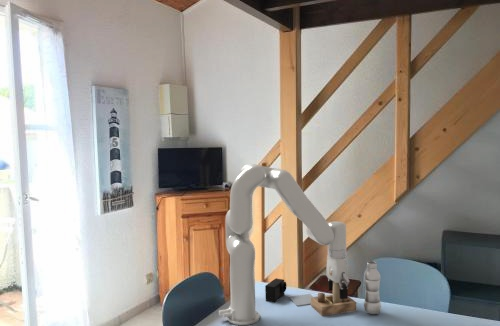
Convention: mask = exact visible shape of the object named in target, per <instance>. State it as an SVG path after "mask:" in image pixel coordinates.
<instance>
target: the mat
mask: <svg viewBox="0 0 500 326" xmlns="http://www.w3.org/2000/svg"><path fill="white" fill-rule="evenodd" d="M311 297H314V295H312V294H311V293H306V294H305V293H304V294H299V295H292V296H291V295H290V296H288V298H289V300H290V301H292V303H294V305H296V306H297V307H301V306H309V305H310V306H311Z"/></svg>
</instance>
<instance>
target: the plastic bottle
mask: <svg viewBox="0 0 500 326" xmlns="http://www.w3.org/2000/svg"><path fill="white" fill-rule="evenodd" d="M366 263H367V265H366V270H365V271H364V274H363V280H364V289H365V290H364V291H365V293H364V303H363V309H364V311H365V313H367V314H370V315H378V314H379V313H380V312H381V309H382V303H381V299H380V285H381V284H380V283H381V273H380V271H378V269H377V268H378V264H377V262H376V261H373V260H372V261H371V260H369V261H367V262H366Z"/></svg>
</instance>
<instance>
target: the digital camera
mask: <svg viewBox="0 0 500 326" xmlns="http://www.w3.org/2000/svg"><path fill="white" fill-rule="evenodd" d="M264 288H265V289H264V291H265V302H269V303H275V304H276V302H278V301H279V300H280V299H281V298H283V296H285V292H286V290H287V282H286V281H285V279H282V278H274V279H273V280H271V281H270V282H268V283H267V284H265V287H264Z"/></svg>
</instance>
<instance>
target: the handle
mask: <svg viewBox="0 0 500 326" xmlns="http://www.w3.org/2000/svg"><path fill="white" fill-rule="evenodd" d="M329 274H330V275H331V276H332V272H330V271H329ZM341 281H342V280H341ZM340 289H341V288H340V285H339V283H335V282H333V290H332V295H333V303H334V304H335V303H342V299H340Z"/></svg>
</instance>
